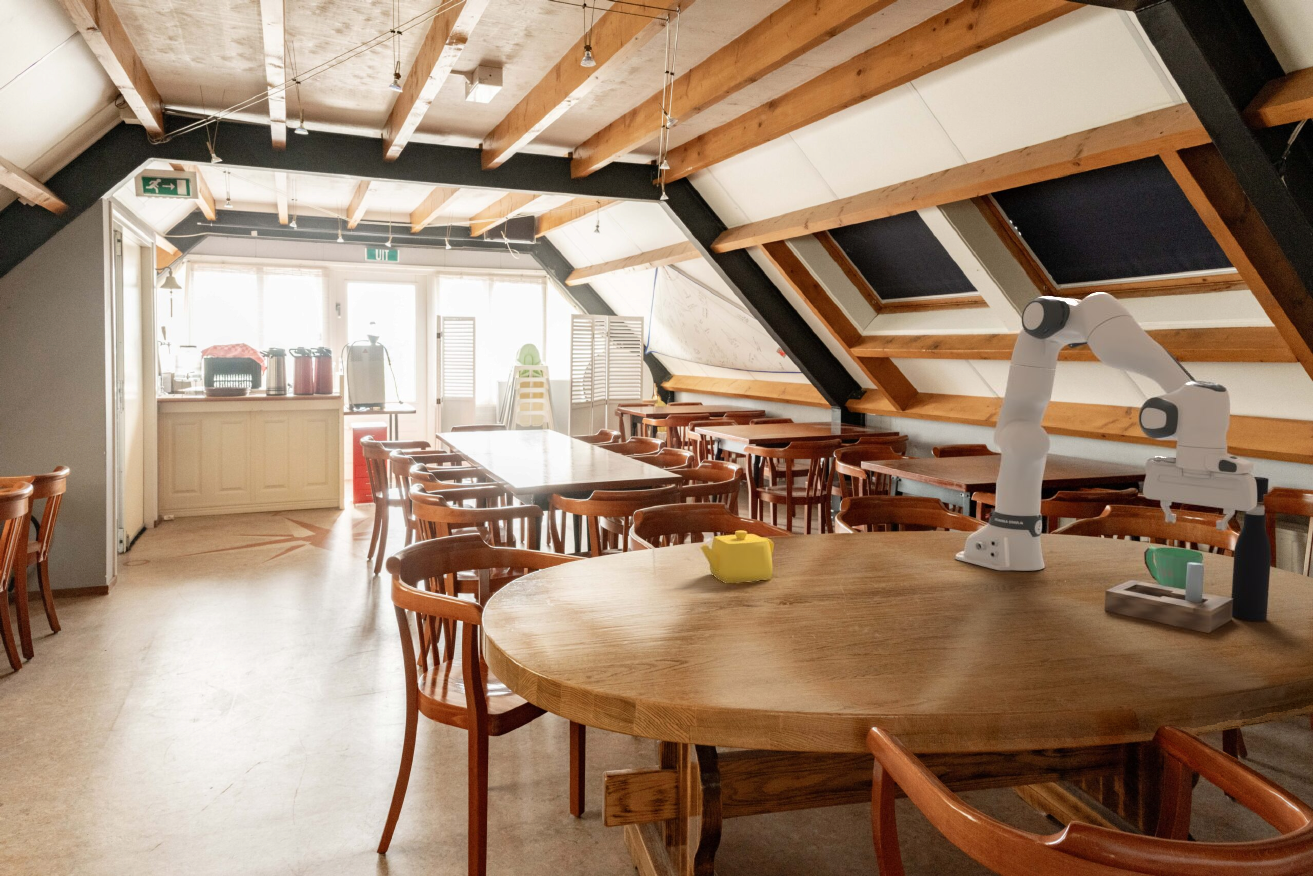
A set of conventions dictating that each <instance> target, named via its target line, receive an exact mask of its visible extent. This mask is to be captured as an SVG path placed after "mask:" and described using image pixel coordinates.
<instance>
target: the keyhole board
mask: <svg viewBox="0 0 1313 876" xmlns="http://www.w3.org/2000/svg"><path fill="white" fill-rule="evenodd" d="M1185 593H1186V590H1184V589H1178V588H1173V587H1168V586H1162V585H1160V584H1157V583H1150V582H1145V581H1140V580H1134V579H1131V580H1128V581H1126V582H1124V583H1123V582H1122V583H1120V584H1118V585H1116V586H1114V587H1111V588H1108V589H1106V590H1105V596H1104V611H1105V612H1110V613H1113V614H1118V615H1123V616H1124V615H1125V616H1128V617H1131V618H1132V617H1134V618H1136V619H1140V620H1141V619H1142V620H1147V621H1150V622H1156V623H1161V624H1165V625H1170V626H1174V627H1179V628H1183V629H1188V630H1192V631H1197V632H1203V633H1207V634H1210V633H1211V632H1213V631H1215V630H1216V629H1218V628H1220V627H1222V626H1223V625H1225V624H1226V623H1228V622H1230V621H1231V620H1232V619H1233V617H1232V608H1233V599H1232V598H1231V597H1226V596H1223V595H1216V594H1209V593H1204V592H1202V604H1201V603H1196V602H1191V601H1186V600H1185Z"/></svg>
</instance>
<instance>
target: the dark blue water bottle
mask: <svg viewBox="0 0 1313 876" xmlns="http://www.w3.org/2000/svg"><path fill="white" fill-rule="evenodd" d="M1253 477H1254V478H1255V480H1256V485H1257V505H1256V507H1255V508H1254V509H1252V510H1250V511H1246V512H1245V513H1243V514H1244V517H1243V526H1242V527H1241V530H1240V532H1239V533H1238V536H1237V540H1236V543H1235V546H1234V550H1233V551H1234V552H1233V567H1232V568H1233V569H1232V583H1231V595H1230V596H1231V597H1230V598H1232V599H1233V608H1232V618H1235V619H1237V620H1241V621H1246V622H1257V623H1258V622H1259V623H1261V622H1266V621H1267V618H1268V605H1269V604H1268V603H1269V602H1268V601H1269V590H1270V575H1271V574H1270V573H1271V562H1272V561H1271V559H1272V550H1271V543H1270V539H1269V535H1268V533H1267V530H1266V529H1267V528H1266V521H1267V520H1266V519H1267V515H1266V514H1265V510H1266V508H1265V505H1263V504H1264V495H1268V494H1269V482H1270V480H1269V478H1268V477H1262V476H1253Z"/></svg>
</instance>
